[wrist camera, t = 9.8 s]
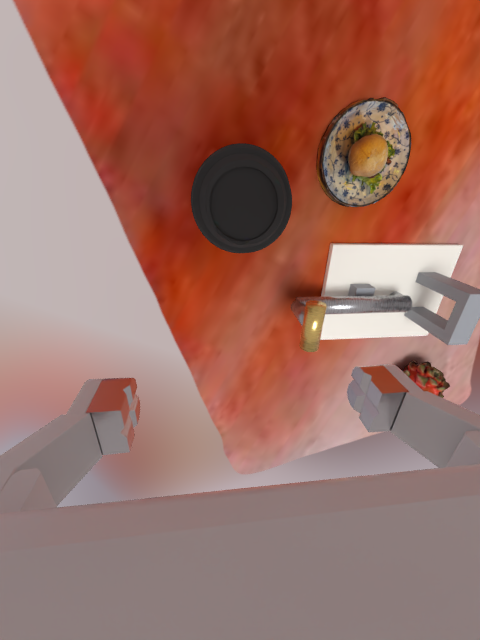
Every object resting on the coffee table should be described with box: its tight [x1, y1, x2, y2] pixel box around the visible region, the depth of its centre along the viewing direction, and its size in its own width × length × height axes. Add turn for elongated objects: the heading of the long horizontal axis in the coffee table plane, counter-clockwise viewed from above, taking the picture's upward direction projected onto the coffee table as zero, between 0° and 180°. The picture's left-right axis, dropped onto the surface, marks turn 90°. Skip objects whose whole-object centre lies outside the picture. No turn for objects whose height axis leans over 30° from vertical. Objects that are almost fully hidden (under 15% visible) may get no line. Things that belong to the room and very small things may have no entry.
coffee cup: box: [191, 144, 292, 253], centre depth 29 cm, size 9×9×15 cm
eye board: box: [320, 243, 480, 345], centre depth 41 cm, size 21×16×10 cm
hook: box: [291, 291, 412, 352], centre depth 38 cm, size 19×6×10 cm, turn 88°
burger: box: [317, 97, 411, 207], centre depth 32 cm, size 12×12×8 cm
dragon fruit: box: [403, 361, 450, 398], centre depth 52 cm, size 8×8×12 cm
